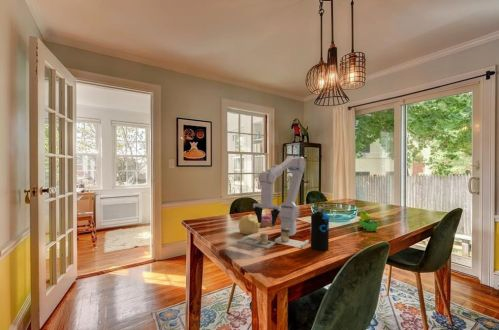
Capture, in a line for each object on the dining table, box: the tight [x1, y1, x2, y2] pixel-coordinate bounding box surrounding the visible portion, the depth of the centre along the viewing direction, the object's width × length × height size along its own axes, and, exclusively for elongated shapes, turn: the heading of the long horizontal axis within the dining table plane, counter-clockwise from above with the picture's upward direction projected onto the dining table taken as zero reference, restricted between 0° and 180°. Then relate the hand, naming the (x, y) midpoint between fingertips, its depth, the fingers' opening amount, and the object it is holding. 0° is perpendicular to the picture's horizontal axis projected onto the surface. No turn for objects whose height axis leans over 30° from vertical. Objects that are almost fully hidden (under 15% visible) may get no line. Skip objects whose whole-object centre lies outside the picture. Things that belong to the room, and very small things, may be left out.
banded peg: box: [259, 232, 269, 246], centre depth 113 cm, size 4×4×6 cm
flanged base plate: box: [274, 235, 310, 249], centre depth 115 cm, size 9×14×3 cm, turn 58°
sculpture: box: [238, 213, 261, 236], centre depth 134 cm, size 12×12×11 cm
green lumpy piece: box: [358, 210, 380, 232], centre depth 147 cm, size 11×9×11 cm
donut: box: [259, 215, 275, 228], centre depth 154 cm, size 14×14×5 cm
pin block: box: [237, 235, 277, 249], centre depth 114 cm, size 8×16×2 cm, turn 58°
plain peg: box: [280, 227, 290, 242], centre depth 117 cm, size 4×4×6 cm
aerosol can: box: [310, 206, 330, 252], centre depth 108 cm, size 8×8×20 cm
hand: (266, 223), depth 117 cm, fingers open, 7 cm apart
